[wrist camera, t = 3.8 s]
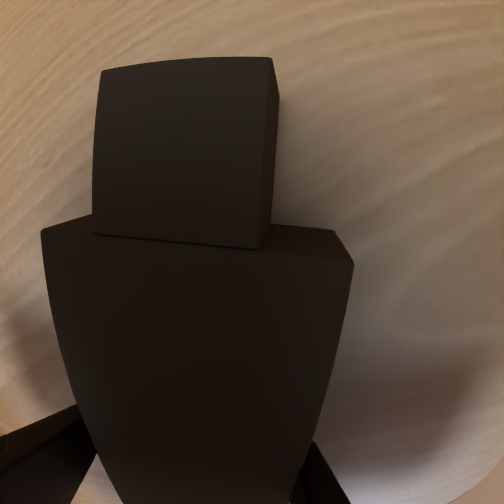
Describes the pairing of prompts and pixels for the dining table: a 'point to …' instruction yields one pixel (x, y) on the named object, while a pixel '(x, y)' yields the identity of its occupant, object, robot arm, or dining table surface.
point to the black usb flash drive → (194, 290)
